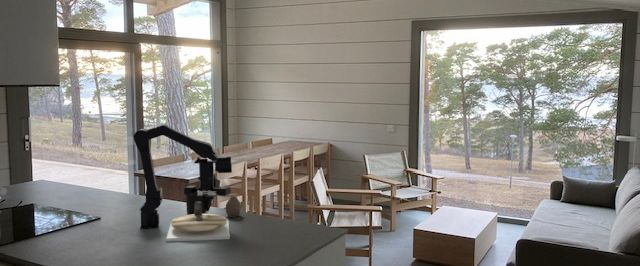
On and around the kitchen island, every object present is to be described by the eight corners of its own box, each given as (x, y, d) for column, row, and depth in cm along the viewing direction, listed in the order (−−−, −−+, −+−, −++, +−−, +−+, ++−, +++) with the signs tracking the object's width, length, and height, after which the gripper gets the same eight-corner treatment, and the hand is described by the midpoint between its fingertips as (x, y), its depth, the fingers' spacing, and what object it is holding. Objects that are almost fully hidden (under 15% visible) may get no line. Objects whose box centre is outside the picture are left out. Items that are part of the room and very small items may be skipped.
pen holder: (203, 209, 241) (203, 187, 240) (210, 213, 233) (210, 191, 232) (183, 211, 236) (183, 189, 235) (190, 216, 228) (189, 193, 227)
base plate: (166, 241, 192) (166, 238, 192) (171, 224, 214) (171, 221, 214) (229, 239, 196) (229, 235, 196) (228, 222, 219) (228, 219, 219)
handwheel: (229, 233, 198) (229, 213, 197) (171, 237, 192) (171, 216, 191) (223, 219, 219) (223, 200, 218) (171, 221, 213) (171, 202, 212)
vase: (238, 218, 226) (238, 198, 225) (223, 217, 227) (223, 197, 226) (243, 214, 232) (243, 195, 231) (229, 213, 234) (229, 194, 233)
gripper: (235, 171, 218) (236, 207, 220) (195, 170, 223) (196, 206, 224) (224, 175, 208) (225, 214, 209) (182, 174, 212) (183, 212, 213)
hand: (207, 211), depth 214 cm, fingers closed
